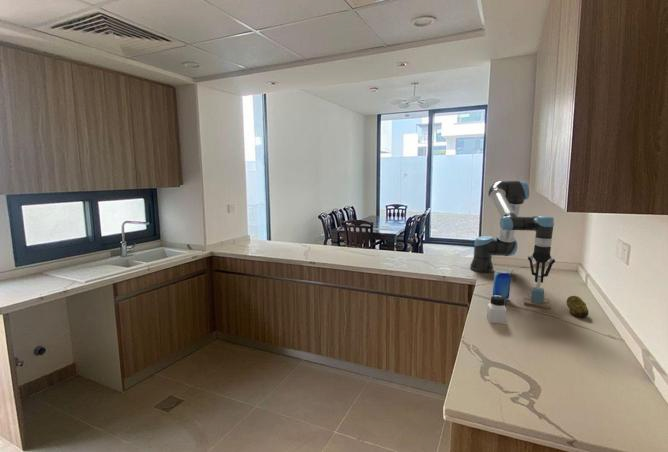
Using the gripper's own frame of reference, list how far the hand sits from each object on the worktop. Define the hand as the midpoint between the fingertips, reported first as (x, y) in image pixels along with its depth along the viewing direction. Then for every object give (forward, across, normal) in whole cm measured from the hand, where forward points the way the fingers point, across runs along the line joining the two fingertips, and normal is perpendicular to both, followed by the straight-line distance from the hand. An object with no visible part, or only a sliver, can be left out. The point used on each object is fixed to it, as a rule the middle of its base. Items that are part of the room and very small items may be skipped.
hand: (538, 287), depth 192 cm
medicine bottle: (+9, -19, -33) cm, 39 cm away
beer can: (+9, -18, -2) cm, 20 cm away
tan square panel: (+8, 0, 0) cm, 8 cm away
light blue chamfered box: (+7, 0, 0) cm, 7 cm away
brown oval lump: (+9, +17, -7) cm, 20 cm away
